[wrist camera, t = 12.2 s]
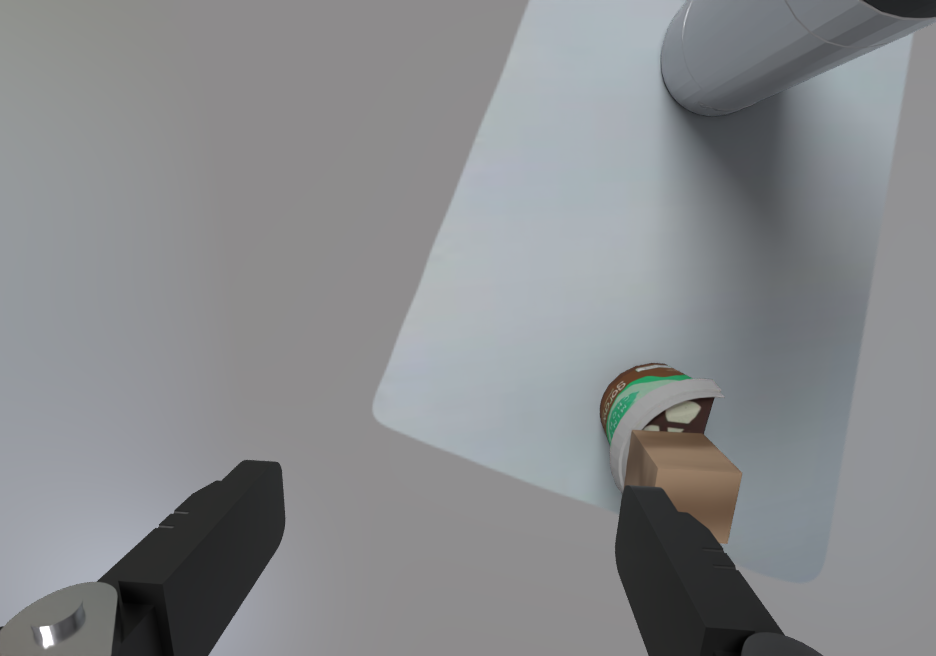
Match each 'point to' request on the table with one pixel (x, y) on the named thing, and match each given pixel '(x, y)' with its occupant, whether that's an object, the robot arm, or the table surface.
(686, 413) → the food container
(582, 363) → the table surface
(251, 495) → the robot arm
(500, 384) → the table surface
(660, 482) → the walnut cube
